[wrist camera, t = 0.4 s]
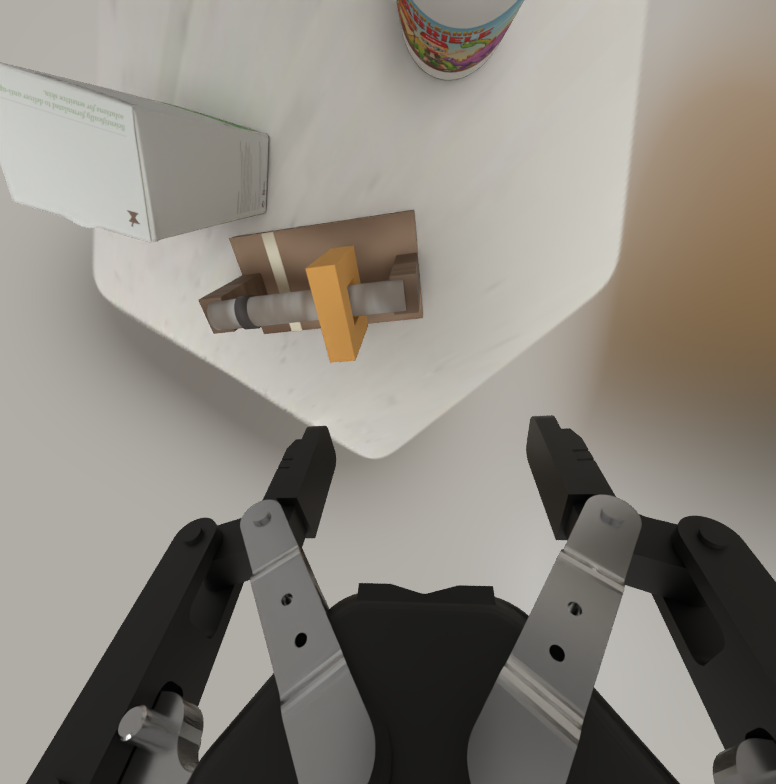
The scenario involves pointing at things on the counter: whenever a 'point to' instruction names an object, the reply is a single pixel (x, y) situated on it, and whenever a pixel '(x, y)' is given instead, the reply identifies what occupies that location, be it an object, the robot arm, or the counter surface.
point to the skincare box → (125, 158)
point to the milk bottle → (454, 33)
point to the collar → (337, 302)
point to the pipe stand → (290, 282)
